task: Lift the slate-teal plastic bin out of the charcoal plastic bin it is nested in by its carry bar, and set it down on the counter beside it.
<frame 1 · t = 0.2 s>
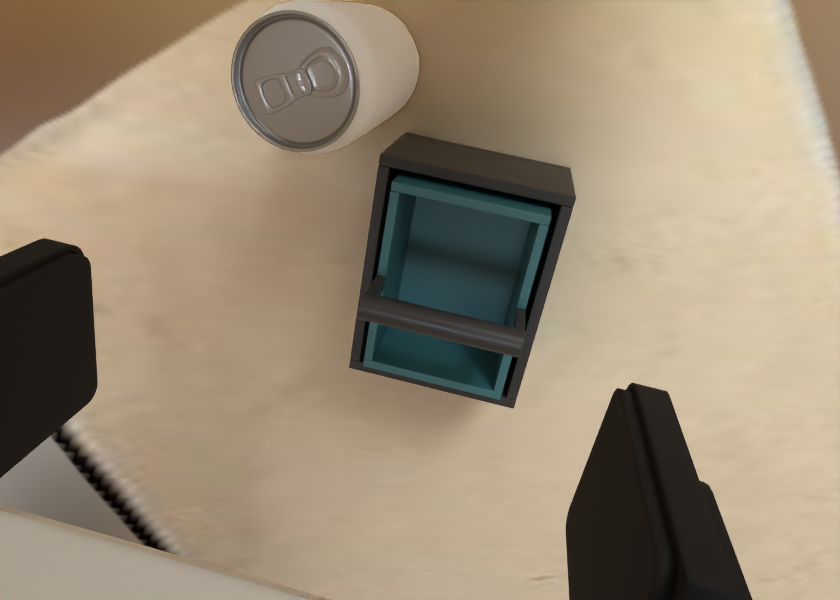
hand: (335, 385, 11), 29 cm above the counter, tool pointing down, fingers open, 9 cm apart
lower bin: (464, 250, 40), on the counter
can: (367, 64, 37), on the counter
top bin: (463, 253, 40), point 1 cm above the counter, touching lower bin
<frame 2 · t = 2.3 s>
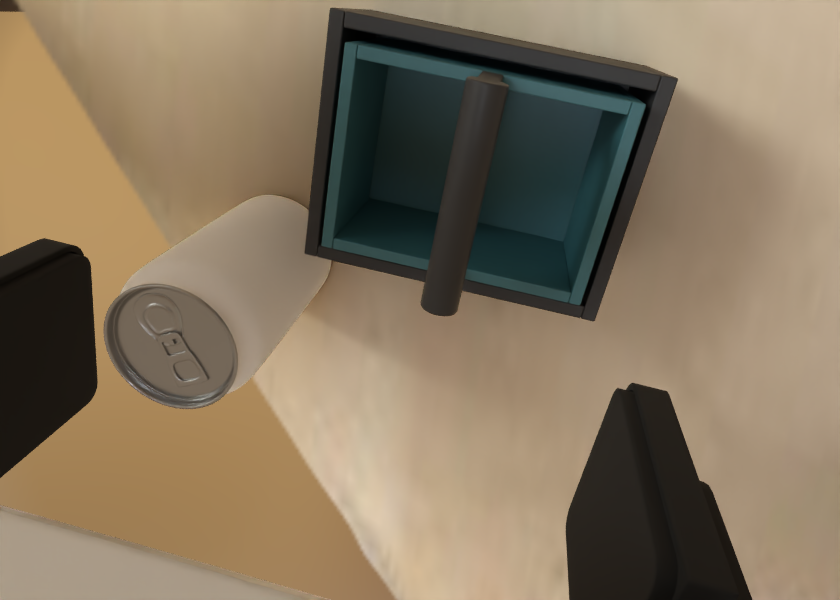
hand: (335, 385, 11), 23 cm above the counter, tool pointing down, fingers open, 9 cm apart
lower bin: (482, 145, 31), on the counter
can: (280, 246, 35), on the counter
top bin: (481, 148, 31), point 1 cm above the counter, touching lower bin
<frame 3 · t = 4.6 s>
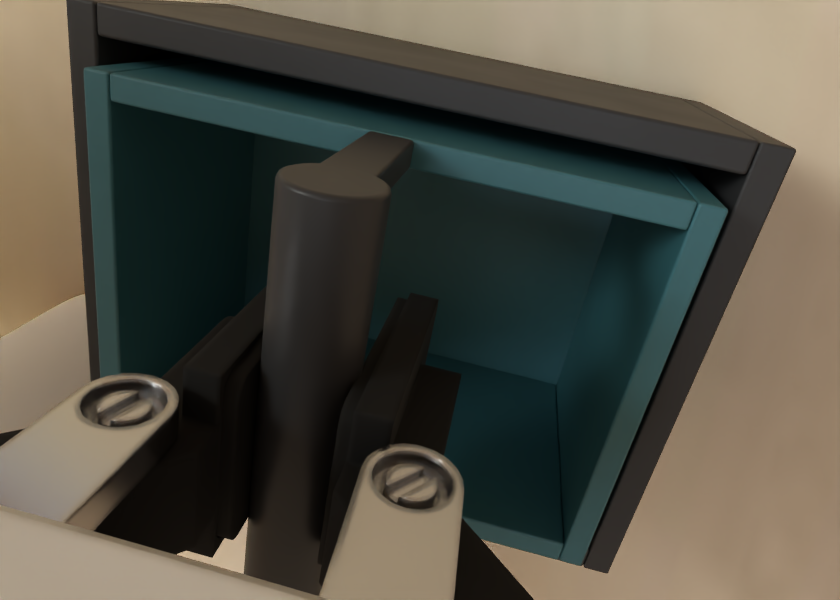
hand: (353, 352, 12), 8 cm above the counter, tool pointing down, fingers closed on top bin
lower bin: (423, 228, 19), on the counter
can: (129, 364, 23), on the counter
top bin: (420, 234, 18), point 1 cm above the counter, touching gripper, lower bin
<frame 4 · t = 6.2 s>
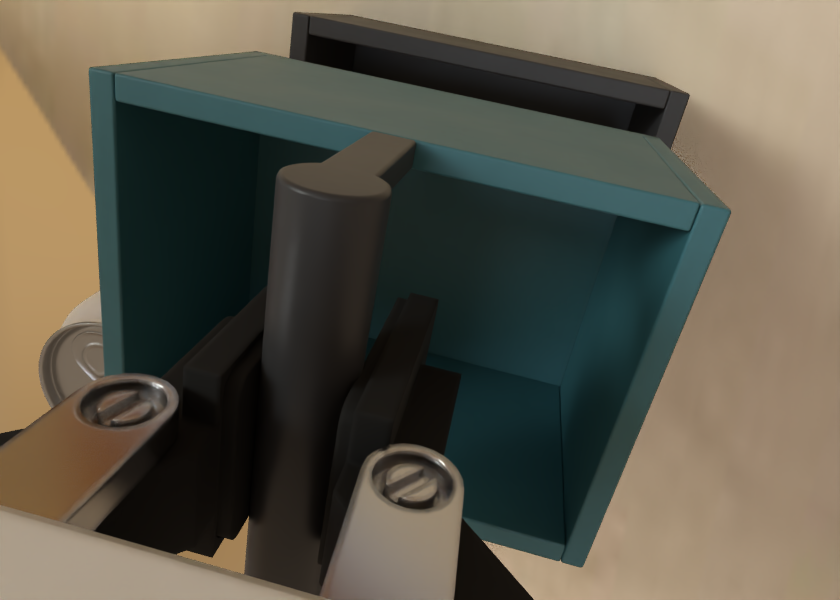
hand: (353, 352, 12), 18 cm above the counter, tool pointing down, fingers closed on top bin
lower bin: (473, 164, 28), on the counter
can: (257, 270, 33), on the counter
top bin: (424, 234, 18), point 11 cm above the counter, touching gripper
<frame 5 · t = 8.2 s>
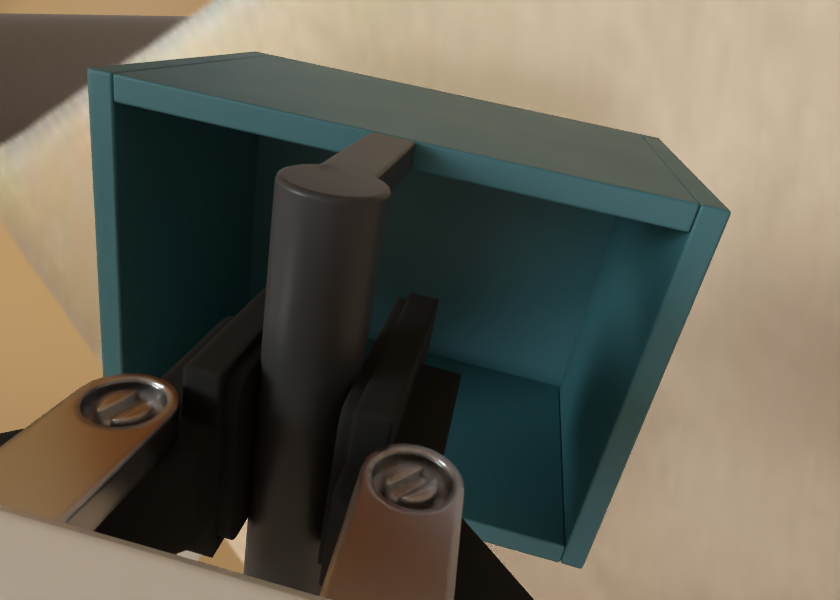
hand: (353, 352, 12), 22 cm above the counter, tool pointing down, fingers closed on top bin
top bin: (423, 235, 18), point 15 cm above the counter, touching gripper
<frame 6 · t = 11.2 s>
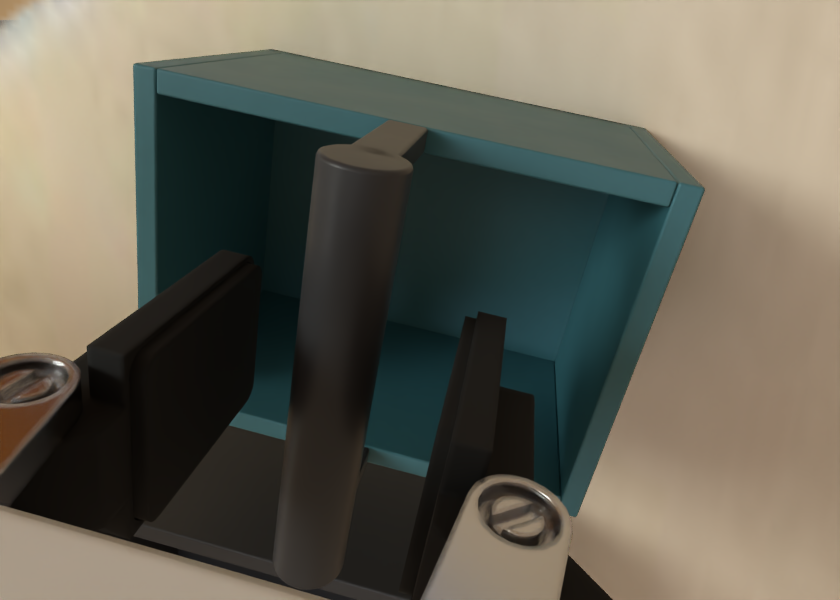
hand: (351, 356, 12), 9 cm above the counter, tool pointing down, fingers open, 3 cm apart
lower bin: (320, 522, 26), on the counter
top bin: (427, 220, 20), on the counter
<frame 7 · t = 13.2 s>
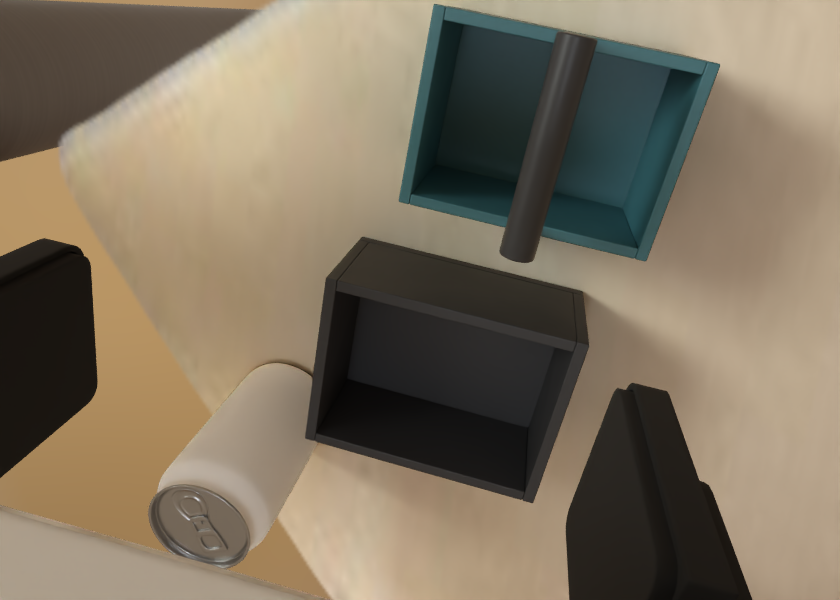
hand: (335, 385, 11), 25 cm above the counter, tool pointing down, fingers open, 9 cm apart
lower bin: (452, 338, 38), on the counter
can: (288, 399, 43), on the counter
top bin: (546, 116, 32), on the counter
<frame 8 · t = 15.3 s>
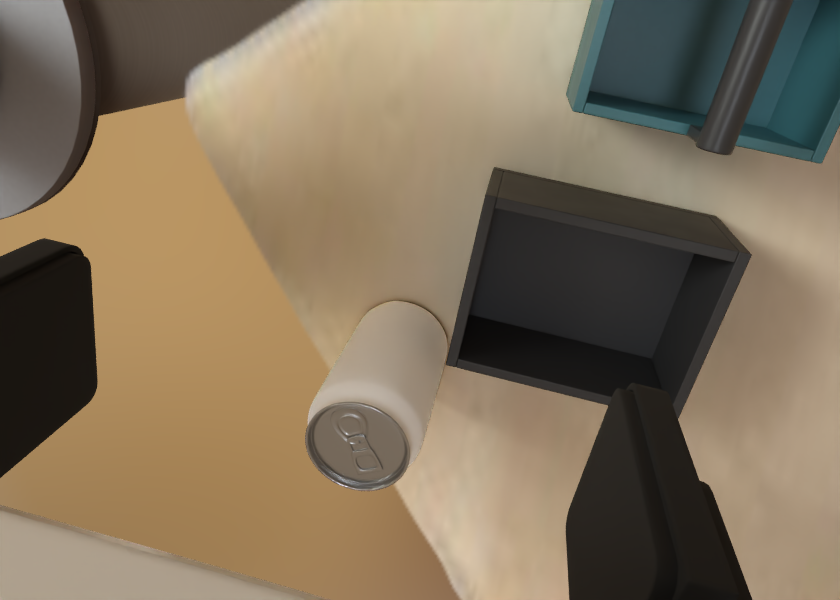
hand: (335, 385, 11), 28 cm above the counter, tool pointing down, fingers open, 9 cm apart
lower bin: (578, 269, 39), on the counter
can: (403, 339, 43), on the counter
top bin: (693, 36, 32), on the counter
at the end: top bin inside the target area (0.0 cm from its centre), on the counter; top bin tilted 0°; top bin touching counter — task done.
